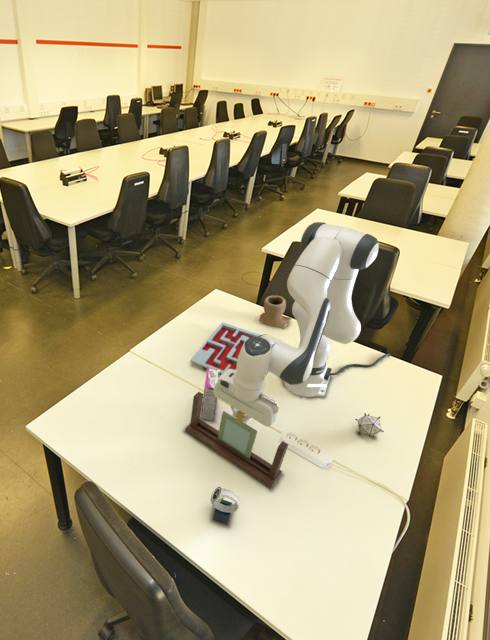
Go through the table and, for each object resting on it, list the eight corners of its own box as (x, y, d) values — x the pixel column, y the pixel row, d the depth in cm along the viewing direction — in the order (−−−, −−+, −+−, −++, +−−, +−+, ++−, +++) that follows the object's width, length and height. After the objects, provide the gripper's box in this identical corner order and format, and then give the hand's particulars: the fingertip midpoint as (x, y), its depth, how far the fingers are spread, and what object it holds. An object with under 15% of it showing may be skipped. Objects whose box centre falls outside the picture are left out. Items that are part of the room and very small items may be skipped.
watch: (210, 501, 119) (215, 480, 113) (236, 510, 117) (242, 489, 111) (206, 517, 115) (210, 496, 109) (233, 527, 113) (239, 506, 107)
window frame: (196, 420, 145) (201, 387, 135) (280, 474, 128) (293, 441, 118) (185, 431, 141) (188, 398, 131) (270, 489, 123) (282, 455, 113)
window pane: (218, 437, 136) (225, 401, 126) (250, 458, 130) (260, 421, 119) (216, 440, 136) (223, 404, 125) (248, 460, 129) (258, 424, 118)
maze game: (221, 327, 195) (222, 322, 193) (259, 340, 187) (260, 335, 185) (189, 365, 171) (190, 360, 169) (231, 382, 163) (232, 376, 161)
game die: (364, 436, 146) (387, 420, 142) (370, 448, 138) (394, 430, 134) (346, 420, 146) (368, 403, 143) (350, 430, 138) (373, 412, 135)
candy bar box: (202, 398, 155) (207, 367, 145) (215, 400, 154) (220, 369, 144) (200, 419, 146) (204, 387, 136) (213, 421, 145) (218, 389, 136)
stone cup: (256, 325, 197) (261, 299, 188) (261, 314, 206) (267, 289, 197) (286, 333, 192) (293, 307, 183) (290, 321, 201) (298, 296, 192)
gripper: (285, 398, 112) (274, 430, 120) (224, 366, 123) (219, 397, 131) (274, 410, 108) (264, 442, 116) (213, 376, 119) (208, 407, 127)
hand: (240, 418), depth 124 cm, fingers closed on window pane, 2 cm apart
